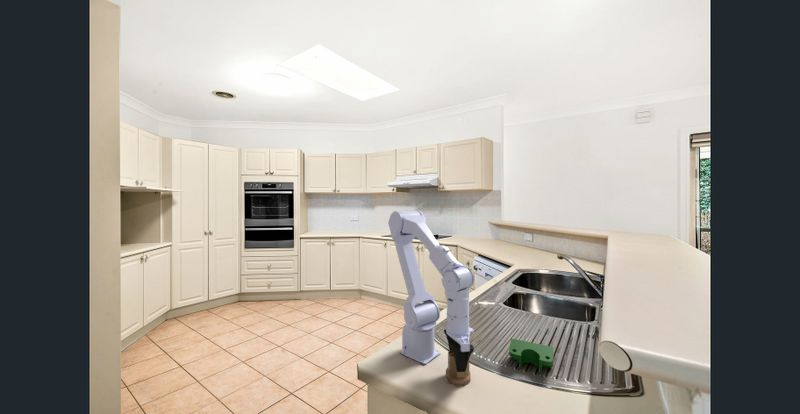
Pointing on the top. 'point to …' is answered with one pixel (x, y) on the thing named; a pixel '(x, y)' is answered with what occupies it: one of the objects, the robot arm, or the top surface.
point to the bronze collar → (452, 367)
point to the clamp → (531, 353)
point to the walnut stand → (457, 381)
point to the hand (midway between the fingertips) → (458, 363)
